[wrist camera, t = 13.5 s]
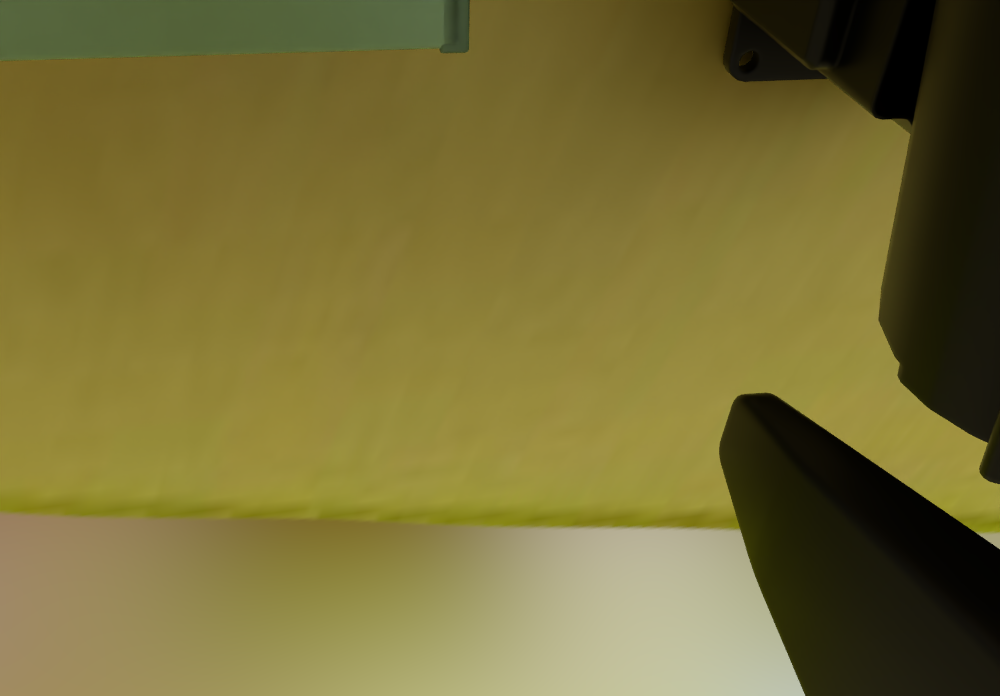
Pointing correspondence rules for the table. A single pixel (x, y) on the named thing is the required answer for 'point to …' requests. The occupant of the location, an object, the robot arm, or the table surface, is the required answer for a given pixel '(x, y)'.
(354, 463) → the table surface
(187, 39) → the sage-green book
